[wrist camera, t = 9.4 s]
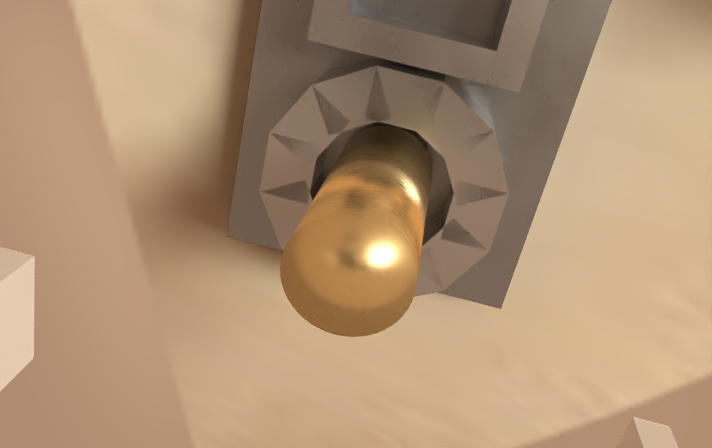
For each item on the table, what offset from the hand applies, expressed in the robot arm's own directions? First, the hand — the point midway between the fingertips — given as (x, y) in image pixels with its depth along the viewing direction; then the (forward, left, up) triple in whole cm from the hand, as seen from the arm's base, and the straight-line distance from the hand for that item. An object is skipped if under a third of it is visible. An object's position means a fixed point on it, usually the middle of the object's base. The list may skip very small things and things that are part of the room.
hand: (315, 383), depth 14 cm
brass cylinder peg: (0, 0, -15) cm, 15 cm away
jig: (-4, 0, -17) cm, 18 cm away
